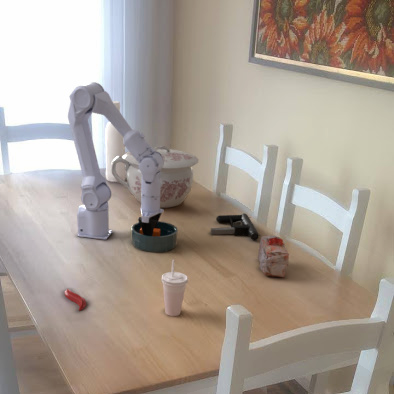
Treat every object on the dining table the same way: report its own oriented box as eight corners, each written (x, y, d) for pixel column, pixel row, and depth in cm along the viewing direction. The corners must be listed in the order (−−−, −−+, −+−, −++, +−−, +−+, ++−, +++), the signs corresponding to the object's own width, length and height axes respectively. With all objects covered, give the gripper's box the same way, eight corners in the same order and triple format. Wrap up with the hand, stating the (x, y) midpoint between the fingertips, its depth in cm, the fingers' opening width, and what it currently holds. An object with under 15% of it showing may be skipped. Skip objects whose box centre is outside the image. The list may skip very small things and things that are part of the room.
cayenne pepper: (88, 310, 141) (88, 303, 140) (69, 311, 139) (68, 304, 138) (81, 288, 150) (81, 282, 149) (63, 290, 149) (63, 283, 148)
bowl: (126, 249, 175) (126, 233, 172) (137, 233, 187) (137, 218, 184) (172, 255, 173) (172, 239, 171) (180, 238, 185) (181, 223, 183)
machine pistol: (214, 234, 184) (263, 232, 186) (205, 213, 201) (250, 211, 203) (214, 243, 186) (262, 241, 188) (205, 222, 203) (249, 221, 204)
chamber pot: (209, 202, 219) (213, 146, 208) (168, 220, 199) (171, 159, 188) (150, 187, 231) (151, 133, 220) (106, 202, 211) (105, 144, 200)
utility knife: (139, 241, 179) (139, 229, 177) (141, 238, 181) (141, 226, 179) (167, 245, 178) (168, 233, 176) (169, 242, 181) (169, 230, 178)
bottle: (103, 181, 234) (101, 102, 218) (109, 176, 240) (108, 99, 225) (122, 183, 233) (122, 104, 217) (127, 178, 240) (127, 101, 224)
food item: (288, 279, 164) (294, 247, 159) (261, 279, 163) (265, 246, 158) (278, 260, 175) (283, 230, 170) (252, 260, 175) (257, 229, 169)
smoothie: (159, 306, 145) (161, 254, 138) (184, 306, 146) (188, 255, 138) (160, 318, 140) (162, 265, 132) (186, 318, 140) (190, 266, 133)
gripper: (158, 203, 166) (157, 247, 173) (168, 189, 178) (166, 231, 185) (135, 200, 166) (134, 244, 173) (146, 186, 178) (145, 228, 186)
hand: (149, 237), depth 179 cm, fingers open, 4 cm apart
